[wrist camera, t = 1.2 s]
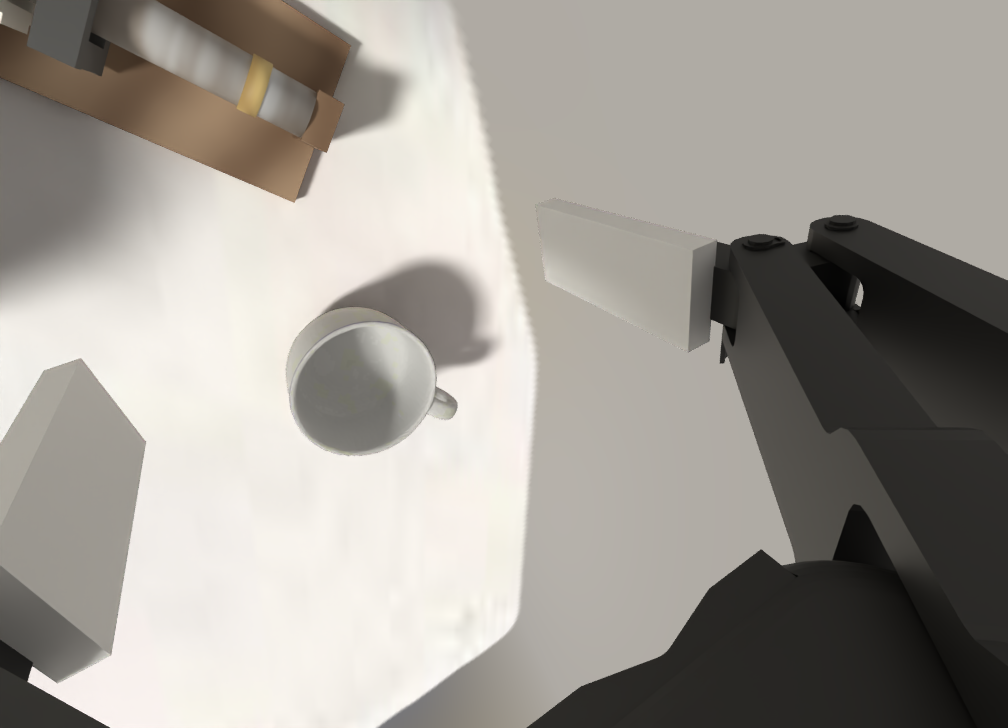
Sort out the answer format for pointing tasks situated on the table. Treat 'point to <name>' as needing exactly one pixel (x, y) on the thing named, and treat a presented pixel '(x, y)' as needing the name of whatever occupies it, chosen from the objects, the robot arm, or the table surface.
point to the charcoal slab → (68, 34)
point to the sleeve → (17, 14)
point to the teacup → (361, 382)
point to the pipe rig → (204, 82)
